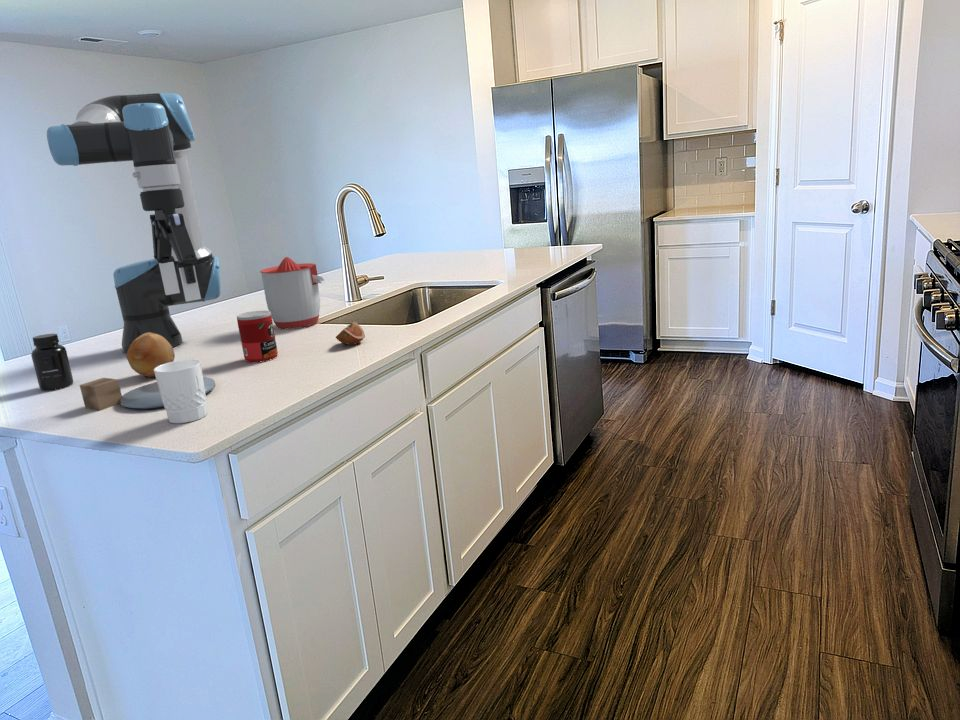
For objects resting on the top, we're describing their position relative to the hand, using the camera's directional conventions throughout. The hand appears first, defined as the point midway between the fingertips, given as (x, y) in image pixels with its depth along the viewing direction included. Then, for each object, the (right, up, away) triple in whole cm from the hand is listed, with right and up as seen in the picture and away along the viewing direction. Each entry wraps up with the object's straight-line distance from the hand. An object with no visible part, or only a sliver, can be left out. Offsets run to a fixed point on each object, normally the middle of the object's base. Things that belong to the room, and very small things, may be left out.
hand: (182, 297), depth 139 cm
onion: (-15, -16, +20) cm, 30 cm away
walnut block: (-16, -22, +1) cm, 27 cm away
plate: (-4, -20, +3) cm, 21 cm away
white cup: (+6, -23, -12) cm, 27 cm away
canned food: (+7, -13, +27) cm, 31 cm away
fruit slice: (+28, -9, +33) cm, 44 cm away
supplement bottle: (-36, -19, +18) cm, 45 cm away
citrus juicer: (+8, -3, +62) cm, 63 cm away
